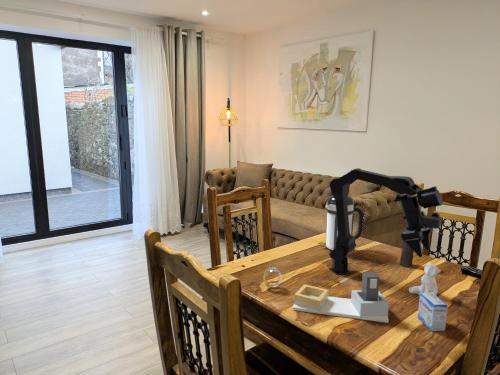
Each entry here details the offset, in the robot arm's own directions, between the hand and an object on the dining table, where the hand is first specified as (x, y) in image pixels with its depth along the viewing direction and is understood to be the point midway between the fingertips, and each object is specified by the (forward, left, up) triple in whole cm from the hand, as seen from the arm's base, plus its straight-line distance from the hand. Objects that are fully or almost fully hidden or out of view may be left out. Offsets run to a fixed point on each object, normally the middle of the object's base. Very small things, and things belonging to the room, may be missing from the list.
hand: (424, 253), depth 130 cm
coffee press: (-50, +1, -16) cm, 52 cm away
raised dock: (+3, -26, -16) cm, 31 cm away
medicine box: (+16, -14, -16) cm, 27 cm away
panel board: (-3, -34, -16) cm, 37 cm away
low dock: (-9, -41, -16) cm, 45 cm away
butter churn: (-22, +16, -16) cm, 31 cm away
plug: (+3, -26, -12) cm, 29 cm away
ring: (-26, -48, -16) cm, 56 cm away
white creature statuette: (+1, +1, -16) cm, 16 cm away
